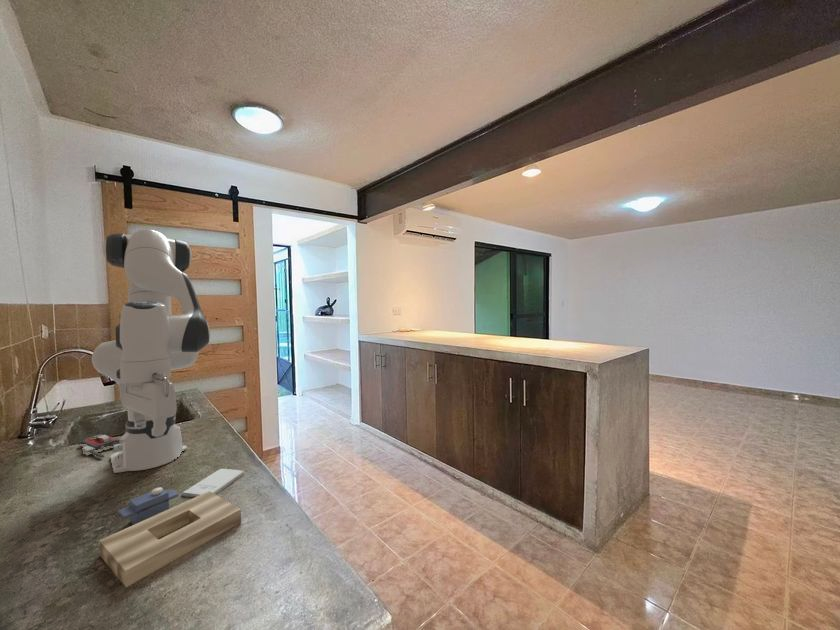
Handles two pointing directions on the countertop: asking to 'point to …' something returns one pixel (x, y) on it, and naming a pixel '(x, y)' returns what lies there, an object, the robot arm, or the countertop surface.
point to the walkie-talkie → (98, 443)
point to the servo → (148, 505)
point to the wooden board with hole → (144, 553)
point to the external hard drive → (214, 482)
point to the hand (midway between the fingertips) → (148, 431)
